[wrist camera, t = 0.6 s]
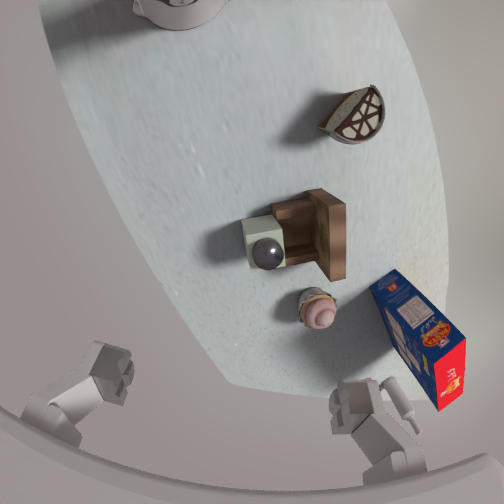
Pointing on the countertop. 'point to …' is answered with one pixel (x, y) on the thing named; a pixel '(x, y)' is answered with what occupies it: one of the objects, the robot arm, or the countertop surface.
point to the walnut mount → (314, 231)
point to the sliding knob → (263, 243)
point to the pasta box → (422, 338)
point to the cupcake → (316, 308)
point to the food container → (355, 116)
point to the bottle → (401, 403)
